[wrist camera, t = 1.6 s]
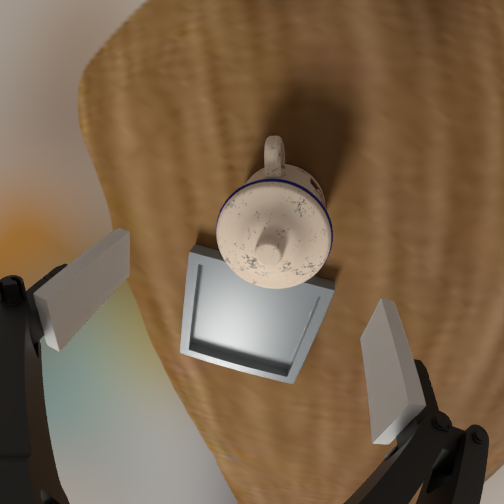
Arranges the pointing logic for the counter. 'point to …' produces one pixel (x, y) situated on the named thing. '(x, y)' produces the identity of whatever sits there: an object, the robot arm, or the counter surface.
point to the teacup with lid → (275, 224)
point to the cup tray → (249, 318)
